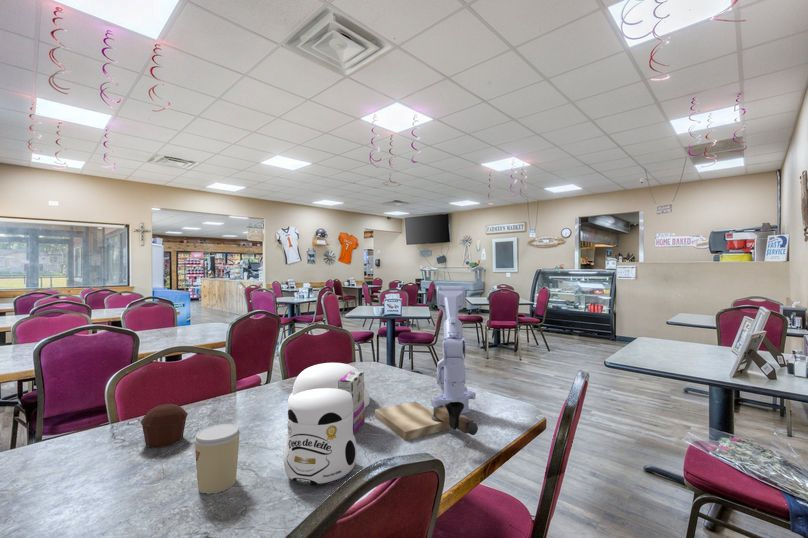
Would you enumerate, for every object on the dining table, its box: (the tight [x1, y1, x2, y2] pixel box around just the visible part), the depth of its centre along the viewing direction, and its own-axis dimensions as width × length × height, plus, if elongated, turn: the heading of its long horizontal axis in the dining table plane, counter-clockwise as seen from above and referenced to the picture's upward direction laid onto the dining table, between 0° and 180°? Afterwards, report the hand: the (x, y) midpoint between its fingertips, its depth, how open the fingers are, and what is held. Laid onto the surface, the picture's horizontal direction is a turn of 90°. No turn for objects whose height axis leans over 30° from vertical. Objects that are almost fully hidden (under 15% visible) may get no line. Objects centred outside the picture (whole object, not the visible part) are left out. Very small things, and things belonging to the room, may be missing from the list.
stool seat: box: [374, 401, 451, 441], centre depth 117 cm, size 16×20×3 cm
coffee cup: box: [193, 423, 241, 495], centre depth 83 cm, size 9×9×12 cm
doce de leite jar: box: [282, 388, 358, 487], centre depth 88 cm, size 17×17×18 cm
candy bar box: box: [338, 370, 365, 435], centre depth 113 cm, size 11×5×16 cm, turn 168°
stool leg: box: [432, 405, 479, 436], centre depth 108 cm, size 18×3×3 cm, turn 31°
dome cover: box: [287, 362, 370, 411], centre depth 136 cm, size 32×30×14 cm
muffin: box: [140, 403, 189, 449], centre depth 105 cm, size 12×11×10 cm
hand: (454, 427), depth 104 cm, fingers closed, pressing on stool leg
